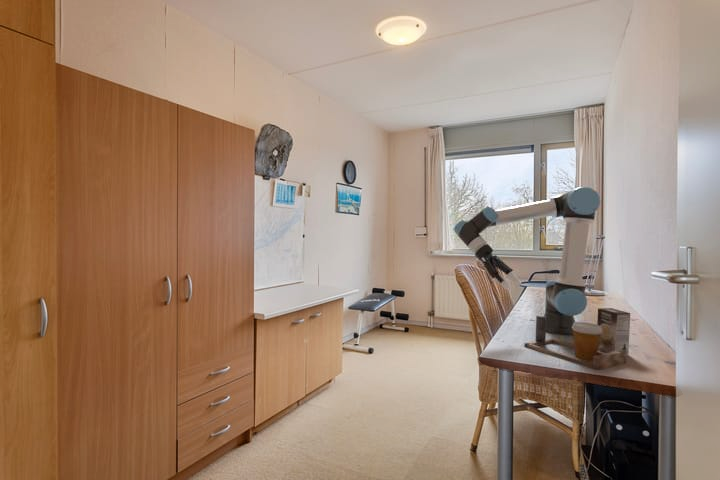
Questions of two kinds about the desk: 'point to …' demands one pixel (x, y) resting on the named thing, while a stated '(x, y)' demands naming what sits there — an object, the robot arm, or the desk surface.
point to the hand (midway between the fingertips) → (514, 286)
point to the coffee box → (613, 330)
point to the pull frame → (598, 361)
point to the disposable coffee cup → (586, 340)
